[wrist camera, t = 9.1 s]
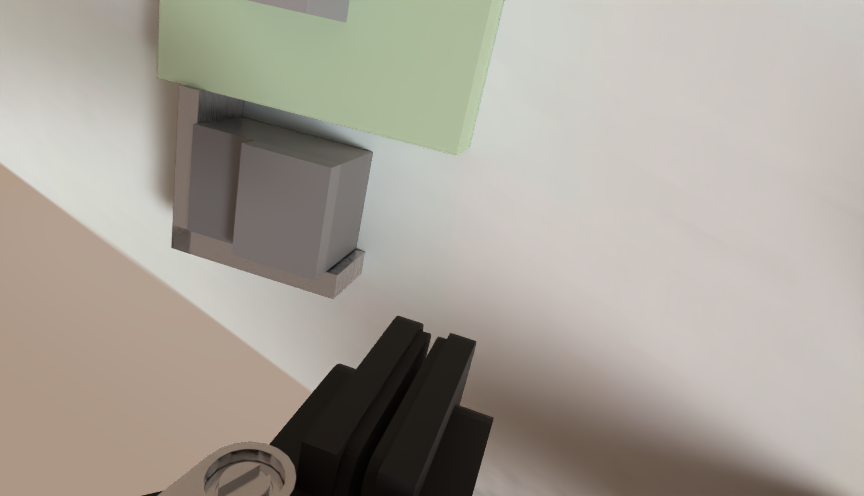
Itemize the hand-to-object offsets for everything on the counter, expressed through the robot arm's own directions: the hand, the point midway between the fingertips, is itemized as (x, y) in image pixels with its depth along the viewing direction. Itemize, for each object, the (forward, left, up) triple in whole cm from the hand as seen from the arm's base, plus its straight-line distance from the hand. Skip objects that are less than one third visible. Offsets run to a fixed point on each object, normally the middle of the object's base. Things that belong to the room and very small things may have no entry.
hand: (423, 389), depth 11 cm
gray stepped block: (+1, -10, -16) cm, 19 cm away
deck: (-7, -9, -16) cm, 20 cm away
